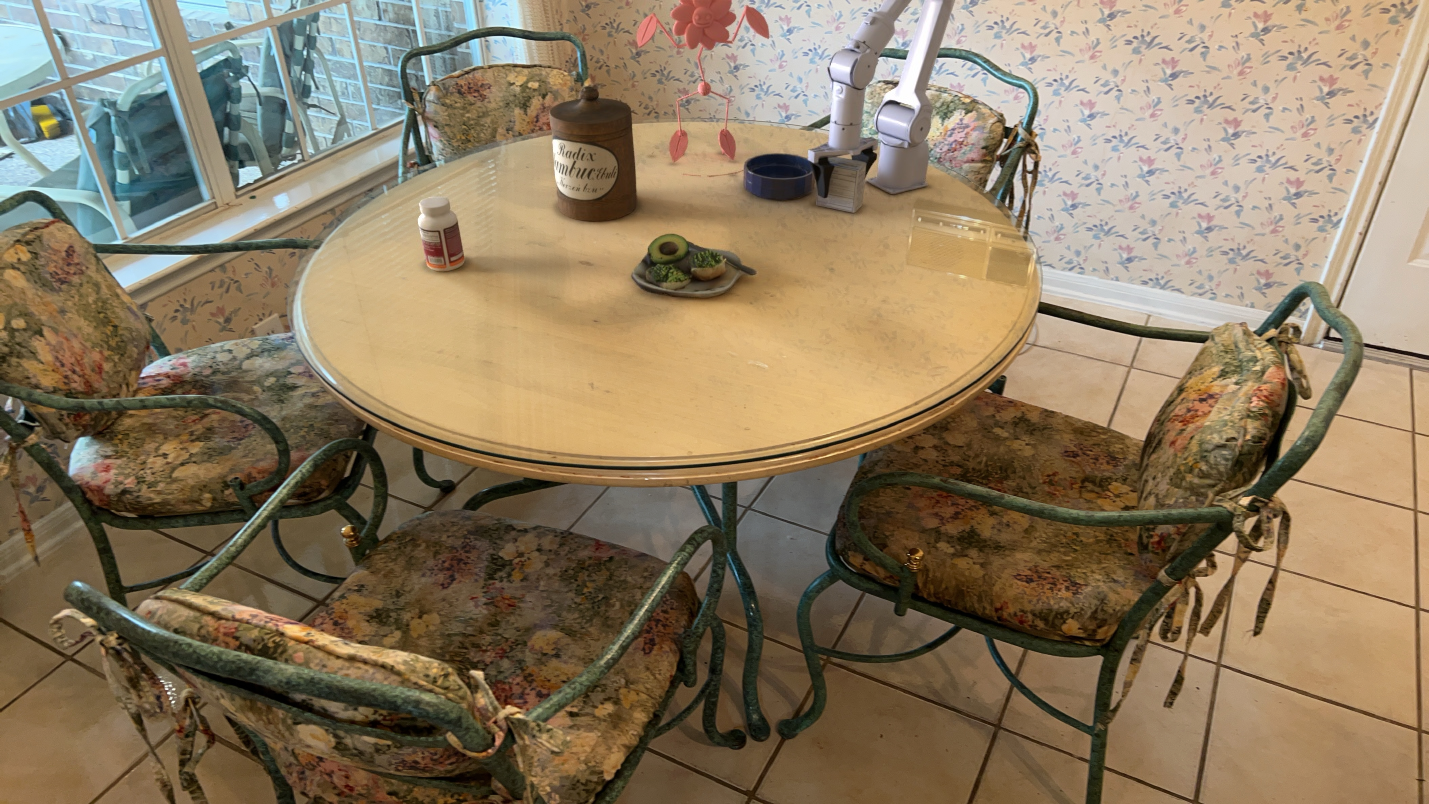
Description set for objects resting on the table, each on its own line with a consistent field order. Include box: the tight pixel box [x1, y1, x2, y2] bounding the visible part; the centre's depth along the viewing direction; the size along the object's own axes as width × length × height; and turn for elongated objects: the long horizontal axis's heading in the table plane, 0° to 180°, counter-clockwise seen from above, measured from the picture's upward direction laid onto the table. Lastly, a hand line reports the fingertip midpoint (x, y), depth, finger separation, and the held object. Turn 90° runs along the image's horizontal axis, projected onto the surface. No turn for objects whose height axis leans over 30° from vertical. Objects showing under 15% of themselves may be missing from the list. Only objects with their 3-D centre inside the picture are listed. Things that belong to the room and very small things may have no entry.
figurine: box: [636, 0, 770, 178], centre depth 178 cm, size 15×26×35 cm, turn 94°
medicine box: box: [815, 156, 866, 214], centre depth 169 cm, size 8×4×9 cm, turn 62°
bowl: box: [742, 152, 816, 201], centre depth 177 cm, size 14×14×4 cm
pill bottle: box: [417, 195, 465, 272], centre depth 147 cm, size 6×6×11 cm
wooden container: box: [548, 86, 638, 222], centre depth 164 cm, size 15×15×22 cm
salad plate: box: [630, 233, 758, 299], centre depth 146 cm, size 19×18×5 cm
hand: (839, 192), depth 170 cm, fingers closed on medicine box, 7 cm apart
